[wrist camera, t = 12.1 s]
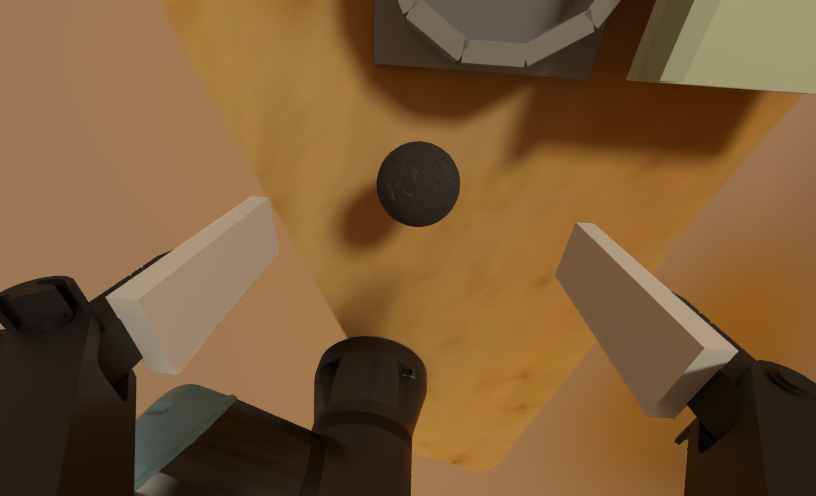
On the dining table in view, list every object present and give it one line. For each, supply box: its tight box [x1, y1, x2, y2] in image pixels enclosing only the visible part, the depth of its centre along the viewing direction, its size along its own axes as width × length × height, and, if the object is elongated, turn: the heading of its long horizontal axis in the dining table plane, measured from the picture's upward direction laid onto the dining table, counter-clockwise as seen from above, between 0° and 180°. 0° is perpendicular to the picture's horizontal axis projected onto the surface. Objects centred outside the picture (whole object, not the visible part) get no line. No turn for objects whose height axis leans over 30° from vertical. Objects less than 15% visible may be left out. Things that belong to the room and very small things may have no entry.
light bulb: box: [377, 141, 460, 227], centre depth 22 cm, size 6×6×10 cm
